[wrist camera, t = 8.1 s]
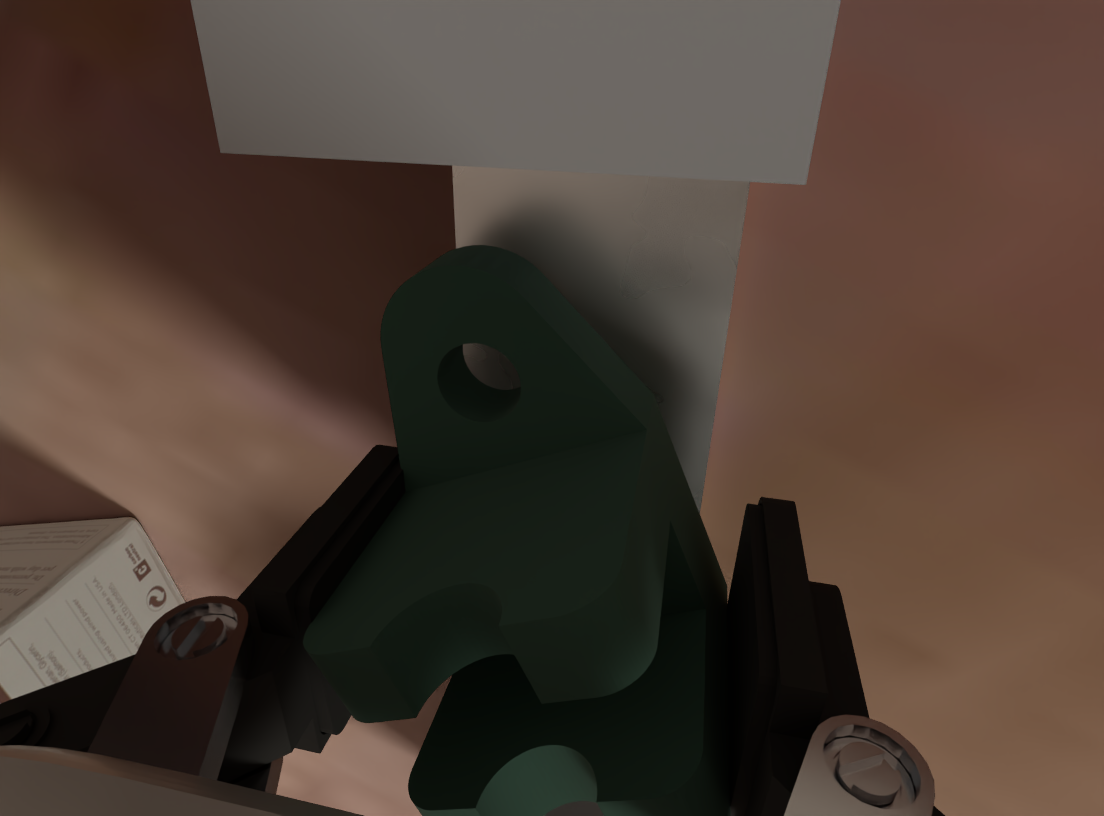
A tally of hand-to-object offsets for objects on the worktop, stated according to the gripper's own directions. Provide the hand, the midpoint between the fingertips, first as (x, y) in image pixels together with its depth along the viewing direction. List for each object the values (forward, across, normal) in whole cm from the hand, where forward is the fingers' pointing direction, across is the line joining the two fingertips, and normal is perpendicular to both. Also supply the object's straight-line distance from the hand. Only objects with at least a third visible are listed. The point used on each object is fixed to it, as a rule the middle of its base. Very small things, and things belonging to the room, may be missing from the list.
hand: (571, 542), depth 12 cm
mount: (+1, 0, 0) cm, 1 cm away
